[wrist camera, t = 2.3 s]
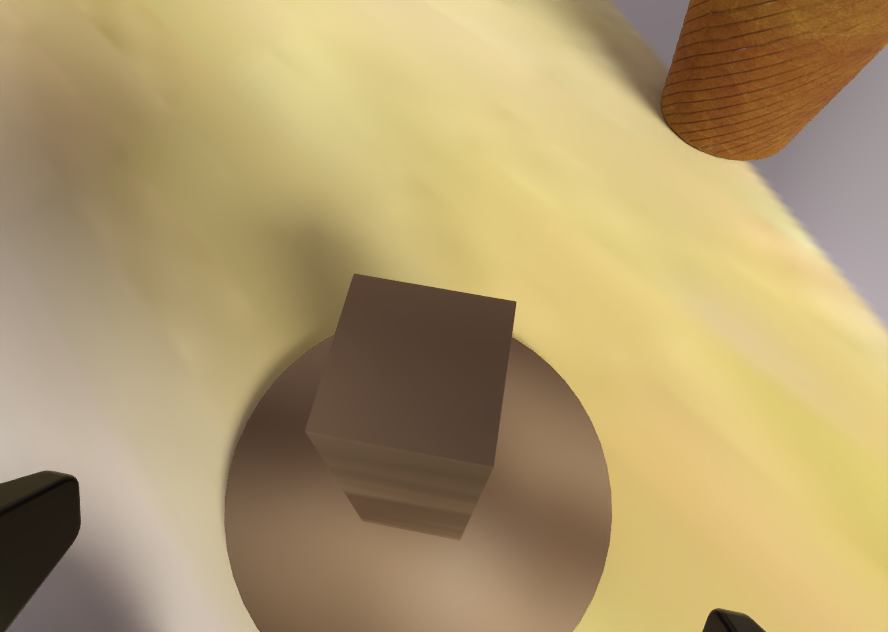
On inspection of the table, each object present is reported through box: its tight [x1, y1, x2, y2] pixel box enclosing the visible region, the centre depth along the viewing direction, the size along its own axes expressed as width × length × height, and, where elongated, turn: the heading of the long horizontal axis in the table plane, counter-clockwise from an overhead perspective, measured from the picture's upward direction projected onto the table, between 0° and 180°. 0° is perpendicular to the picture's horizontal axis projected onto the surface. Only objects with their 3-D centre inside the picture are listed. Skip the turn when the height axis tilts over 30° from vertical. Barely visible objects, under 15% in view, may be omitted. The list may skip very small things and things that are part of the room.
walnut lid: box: [225, 274, 612, 632], centre depth 14 cm, size 12×12×10 cm
